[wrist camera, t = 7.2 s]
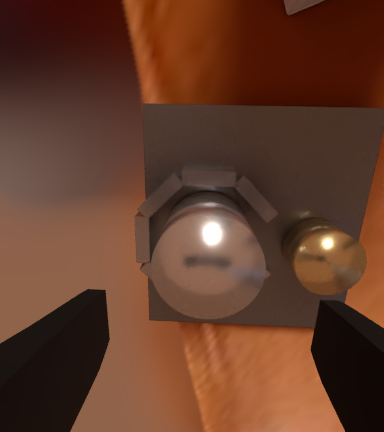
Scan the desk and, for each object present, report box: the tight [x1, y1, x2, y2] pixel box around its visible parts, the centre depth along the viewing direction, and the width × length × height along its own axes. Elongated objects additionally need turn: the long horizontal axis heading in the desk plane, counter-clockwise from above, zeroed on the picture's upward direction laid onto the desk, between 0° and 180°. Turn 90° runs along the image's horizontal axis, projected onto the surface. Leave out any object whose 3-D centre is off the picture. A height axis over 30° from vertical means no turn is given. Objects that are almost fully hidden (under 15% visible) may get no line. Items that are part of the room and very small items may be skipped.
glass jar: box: [151, 192, 266, 319], centre depth 14 cm, size 5×5×5 cm
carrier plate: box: [135, 104, 384, 328], centre depth 15 cm, size 14×13×4 cm
